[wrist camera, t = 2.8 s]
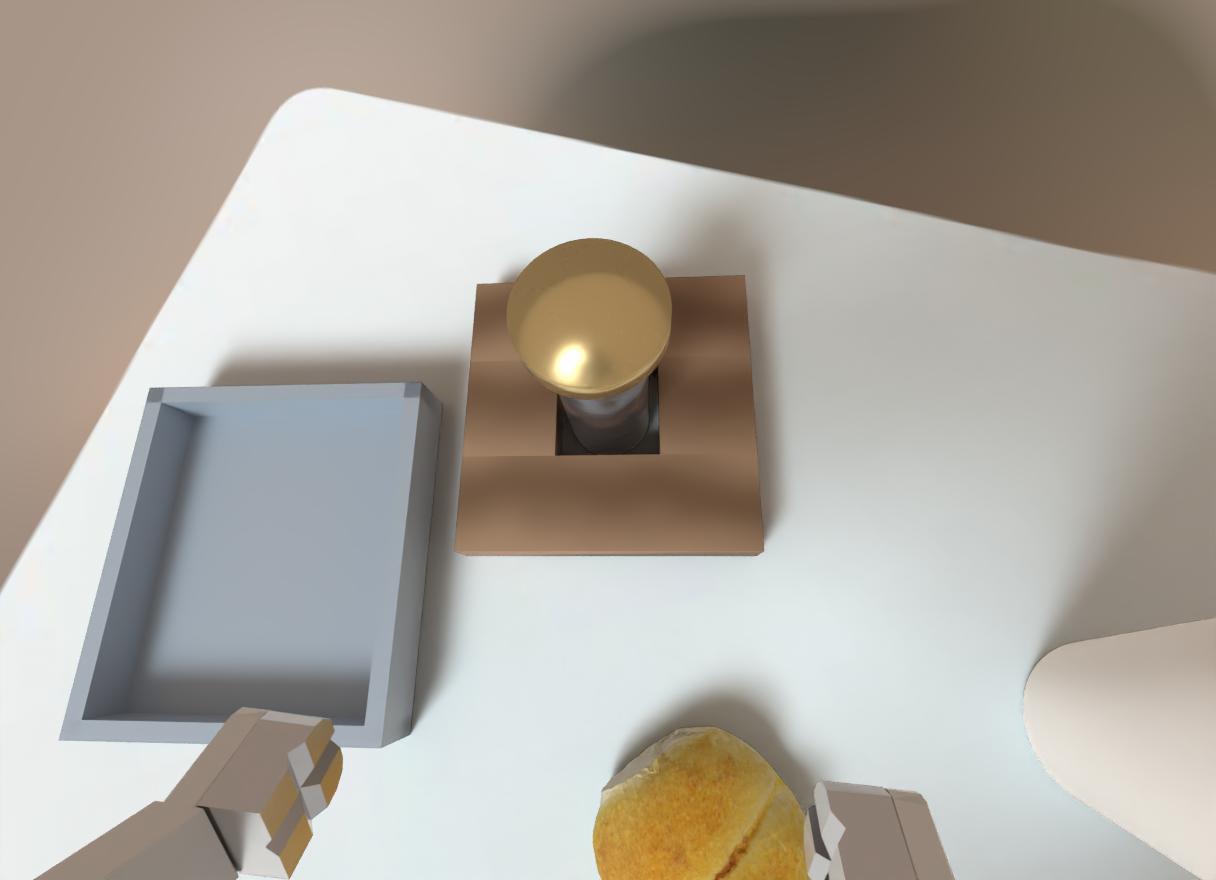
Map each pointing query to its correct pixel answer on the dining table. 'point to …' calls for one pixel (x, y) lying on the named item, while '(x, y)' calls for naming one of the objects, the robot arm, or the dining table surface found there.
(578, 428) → the pin
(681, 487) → the socket block
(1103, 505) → the dining table surface
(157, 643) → the tray
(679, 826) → the bread roll
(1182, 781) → the cup
